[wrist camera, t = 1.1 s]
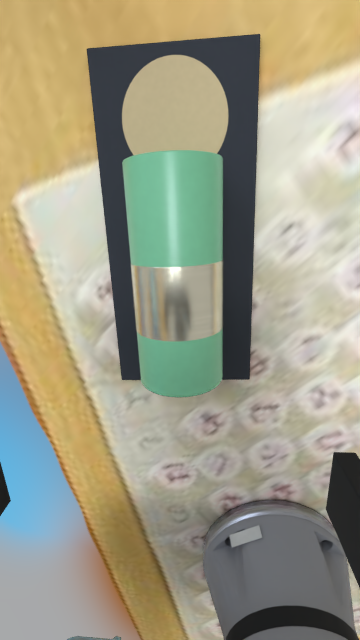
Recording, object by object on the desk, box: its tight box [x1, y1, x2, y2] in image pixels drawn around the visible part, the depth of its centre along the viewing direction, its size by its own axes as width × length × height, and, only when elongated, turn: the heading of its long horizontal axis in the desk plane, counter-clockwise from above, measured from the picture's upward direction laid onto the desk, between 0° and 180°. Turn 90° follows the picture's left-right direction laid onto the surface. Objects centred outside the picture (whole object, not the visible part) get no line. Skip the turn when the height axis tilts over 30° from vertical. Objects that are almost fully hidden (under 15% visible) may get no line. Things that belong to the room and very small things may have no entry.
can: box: [122, 150, 223, 397], centre depth 23 cm, size 16×7×7 cm, turn 2°
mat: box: [87, 34, 260, 380], centre depth 25 cm, size 26×12×1 cm, turn 2°
